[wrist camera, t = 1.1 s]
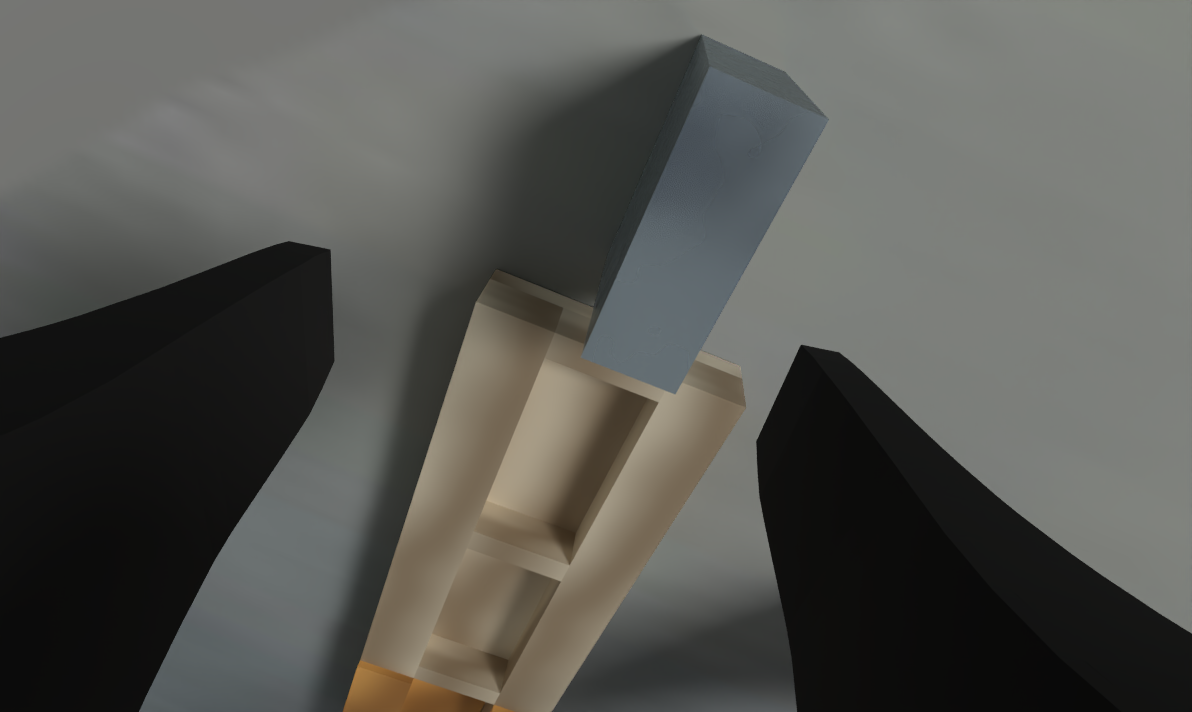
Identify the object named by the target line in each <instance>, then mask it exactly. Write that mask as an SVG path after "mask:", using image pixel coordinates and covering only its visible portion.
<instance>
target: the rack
mask: <svg viewBox="0 0 1192 712" xmlns="http://www.w3.org/2000/svg"><path fill="white" fill-rule="evenodd" d="M592 312H593V307H590V306H588V305H585V304H583V303H580V302H578V301H575V300H573V299H570V298H568V297H565V296H563V295H560V294H558V293H555V292H553V291H550V290H548V289H545V288H543V287H540V286H538V285H535V284H533V283H530V282H528V281H525V280H523V279H520V278H518V277H515V276H513V275H510V274H508V273H505V272H503V271H500V270H497V269H496V270H495V271H494V273H493V275H492V276H491V278H490V280H489V281H488V283H487V285H486V286H485V288H484V290H483V291H482V293H481V294H480V296H479V298H478V299H477V301H476V304H475V307H474V310H473V313H472V316H471V319H470V322H469V325H468V328H467V332H466V335H465V338H464V341H463V344H462V347H461V350H460V353H459V356H458V359H457V362H456V366H455V369H454V372H453V375H452V378H451V381H450V384H449V387H448V390H447V393H446V396H445V400H444V403H443V406H442V409H441V412H440V415H439V418H438V421H437V424H436V427H435V430H434V434H433V437H432V440H431V443H430V446H429V449H428V452H427V455H426V458H425V461H424V465H423V468H422V471H421V474H420V477H419V480H418V483H417V486H416V489H415V492H414V495H413V499H412V502H411V505H410V508H409V511H408V514H407V517H406V520H405V523H404V526H403V529H402V533H401V536H400V539H399V542H398V545H397V548H396V551H395V554H394V557H393V560H392V563H391V567H390V570H389V573H388V576H387V579H386V582H385V585H384V588H383V591H382V594H381V597H380V601H379V604H378V607H377V610H376V613H375V616H374V619H373V622H372V625H371V628H370V632H369V635H368V638H367V641H366V644H365V647H364V650H363V653H362V656H361V659H360V662H359V664H358V666H357V669H356V672H355V675H354V678H353V682H352V685H351V688H350V691H349V694H348V697H347V700H346V703H345V706H344V710H343V712H552V710H553V709H554V707H555V706H556V704H557V703H558V701H559V699H560V698H561V696H562V695H563V693H564V692H565V690H566V689H567V687H568V685H569V684H570V682H571V681H572V679H573V678H574V676H575V674H576V673H577V671H578V670H579V668H580V667H581V665H582V664H583V662H584V660H585V659H586V657H587V656H588V654H589V653H590V651H591V649H592V648H593V646H594V645H595V643H596V642H597V640H598V639H599V637H600V635H601V634H602V632H603V631H604V629H605V628H606V626H607V624H608V623H609V621H610V620H611V618H612V617H613V615H614V613H615V612H616V610H617V609H618V607H619V606H620V604H621V603H622V601H623V599H624V598H625V596H626V595H627V593H628V592H629V590H630V588H631V587H632V585H633V584H634V582H635V581H636V579H637V578H638V576H639V574H640V573H641V571H642V570H643V568H644V567H645V565H646V563H647V562H648V560H649V559H650V557H651V556H652V554H653V552H654V551H655V549H656V548H657V546H658V545H659V543H660V542H661V540H662V538H663V537H664V535H665V534H666V532H667V531H668V529H669V527H670V526H671V524H672V523H673V521H674V520H675V518H676V517H677V515H678V513H679V512H680V510H681V509H682V507H683V506H684V504H685V502H686V501H687V499H688V498H689V496H690V495H691V493H692V492H693V490H694V488H695V487H696V485H697V484H698V482H699V481H700V479H701V477H702V476H703V474H704V473H705V471H706V470H707V468H708V466H709V465H710V463H711V462H712V460H713V459H714V457H715V456H716V454H717V452H718V451H719V449H720V448H721V446H722V445H723V443H724V441H725V440H726V438H727V437H728V435H729V434H730V432H731V431H732V429H733V427H734V426H735V424H736V423H737V421H738V420H739V418H740V416H741V415H742V413H743V412H744V410H745V409H746V403H745V396H744V389H743V382H742V375H741V368H740V366H738V365H736V364H733V363H731V362H728V361H726V360H723V359H721V358H718V357H716V356H713V355H711V354H708V353H706V352H703V351H701V350H700V351H699V353H698V355H697V357H696V359H695V360H694V362H693V364H692V366H691V368H690V369H689V371H688V373H687V375H686V376H685V378H684V380H683V382H682V384H681V385H680V387H679V389H678V391H677V393H676V394H672V393H670V392H667V391H665V390H662V389H660V388H657V387H655V386H652V385H649V384H647V383H644V382H642V381H639V380H637V379H634V378H632V377H629V376H626V375H624V374H621V373H619V372H616V371H614V370H611V369H609V368H606V367H603V366H601V365H598V364H596V363H593V362H591V361H588V360H586V359H583V358H581V354H582V350H583V346H584V342H585V339H586V335H587V331H588V327H589V323H590V320H591V316H592Z"/></svg>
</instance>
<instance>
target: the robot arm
mask: <svg viewBox="0 0 1192 712" xmlns="http://www.w3.org/2000/svg"><path fill="white" fill-rule="evenodd" d="M333 363H334V335H333V307H332V279H331V251H330V249H325V248H320V247H315V246H310V245H305V244H300V243H295V242H290V241H288V242H284V243H280V244H277V245H273V246H270V247H267V248H265V249H262V250H259V251H256V252H253V253H251V254H248V255H245V256H243V257H240V258H238V259H235V260H232V261H230V262H227V263H225V264H222V265H219V266H217V267H214V268H212V269H209V270H206V271H204V272H201V273H199V274H196V275H193V276H191V277H188V278H186V279H183V280H180V281H178V282H175V283H172V284H170V285H167V286H165V287H162V288H159V289H156V290H153V291H151V292H148V293H145V294H142V295H139V296H136V297H133V298H130V299H127V300H124V301H121V302H118V303H115V304H112V305H109V306H107V307H104V308H101V309H98V310H95V311H92V312H89V313H86V314H83V315H80V316H77V317H74V318H70V319H67V320H64V321H60V322H57V323H54V324H50V325H47V326H43V327H40V328H36V329H33V330H29V331H25V332H21V333H17V334H14V335H10V336H6V337H2V338H0V712H139V710H140V708H141V706H142V704H143V701H144V699H145V697H146V695H147V693H148V691H149V689H150V687H151V685H152V683H153V681H154V679H155V677H156V675H157V673H158V671H159V669H160V666H161V664H162V662H163V660H164V658H165V656H166V654H167V652H168V650H169V648H170V646H171V644H172V642H173V640H174V638H175V636H176V634H177V632H178V630H179V628H180V626H181V624H182V622H183V620H184V618H185V616H186V614H187V612H188V610H189V608H190V606H191V605H192V603H193V601H194V599H195V597H196V595H197V593H198V591H199V589H200V587H201V585H202V583H203V581H204V580H205V578H206V576H207V574H208V572H209V570H210V568H211V566H212V564H213V562H214V560H215V559H216V557H217V556H218V554H219V552H220V551H221V549H222V547H223V546H224V544H225V542H226V541H227V539H228V537H229V536H230V534H231V532H232V531H233V529H234V528H235V526H236V525H237V523H238V522H239V520H240V519H241V517H242V516H243V514H244V513H245V511H246V510H247V508H248V507H249V505H250V504H251V502H252V501H253V499H254V498H255V496H256V495H257V493H258V492H259V490H260V489H261V487H262V486H263V484H264V483H265V481H266V480H267V478H268V477H269V475H270V474H271V472H272V471H273V469H274V468H275V466H276V465H277V463H278V462H279V460H280V459H281V457H282V456H283V454H284V453H285V451H286V450H287V448H288V447H289V445H290V444H291V442H292V441H293V439H294V438H295V436H296V435H297V433H298V432H299V430H300V428H301V427H302V425H303V424H304V422H305V421H306V419H307V417H308V416H309V414H310V412H311V410H312V408H313V406H314V404H315V402H316V400H317V398H318V396H319V394H320V392H321V390H322V388H323V385H324V383H325V381H326V379H327V376H328V374H329V372H330V370H331V367H332V365H333ZM756 445H757V468H758V483H759V495H760V502H761V507H762V512H763V517H764V522H765V527H766V532H767V537H768V542H769V547H770V551H771V556H772V561H773V565H774V570H775V575H776V580H777V584H778V589H779V594H780V598H781V603H782V608H783V612H784V617H785V622H786V627H787V632H788V638H789V644H790V650H791V656H792V664H793V674H794V684H795V694H796V704H797V712H1192V634H1191V633H1190V632H1188V631H1186V630H1185V629H1183V628H1182V627H1180V626H1178V625H1177V624H1175V623H1174V622H1172V621H1170V620H1169V619H1167V618H1165V617H1164V616H1162V615H1161V614H1159V613H1158V612H1156V611H1155V610H1153V609H1152V608H1150V607H1149V606H1147V605H1146V604H1144V603H1143V602H1141V601H1140V600H1138V599H1137V598H1135V597H1134V596H1132V595H1131V594H1129V593H1128V592H1126V591H1125V590H1123V589H1122V588H1120V587H1119V586H1117V585H1116V584H1114V583H1112V582H1111V581H1109V580H1108V579H1106V578H1105V577H1103V576H1102V575H1101V574H1099V573H1098V572H1096V571H1095V570H1093V569H1092V568H1091V567H1089V566H1088V565H1086V564H1085V563H1083V562H1082V561H1081V560H1079V559H1078V558H1076V557H1075V556H1074V555H1072V554H1071V553H1069V552H1068V551H1067V550H1065V549H1064V548H1063V547H1061V546H1060V545H1059V544H1058V543H1056V542H1055V541H1054V540H1052V539H1051V538H1050V537H1048V536H1047V535H1046V534H1044V533H1043V532H1042V531H1040V530H1039V529H1038V528H1036V527H1035V526H1034V525H1032V524H1031V523H1030V522H1028V521H1027V520H1026V519H1025V518H1023V517H1022V516H1021V515H1019V514H1018V513H1017V512H1016V511H1014V510H1013V509H1012V508H1011V507H1009V506H1008V505H1007V504H1006V503H1005V502H1003V501H1002V500H1001V499H1000V498H998V497H997V496H996V495H995V494H994V493H993V492H991V491H990V490H989V489H988V488H987V487H986V486H984V485H983V484H982V483H981V482H980V481H979V480H978V479H976V478H975V477H974V476H973V475H972V474H971V473H969V472H968V471H967V470H966V469H965V468H964V467H963V466H961V465H960V464H959V463H958V462H957V461H956V460H955V459H954V458H953V457H951V456H950V455H949V454H948V453H947V452H946V451H945V450H944V449H943V448H942V447H940V446H939V445H938V444H937V443H936V442H935V441H934V440H933V439H932V438H931V437H930V436H929V435H928V434H927V433H926V432H924V431H923V430H922V429H921V428H920V427H919V426H918V425H917V424H916V423H915V422H914V421H913V420H912V419H911V418H910V417H909V416H908V415H907V414H906V413H905V412H904V411H903V410H902V409H900V408H899V407H898V406H897V405H896V404H895V403H894V402H893V401H892V400H891V399H890V398H889V397H888V396H887V395H886V394H885V393H884V392H883V391H882V390H881V389H880V388H879V387H878V386H877V385H876V384H875V383H874V382H873V381H871V380H870V379H869V378H868V377H867V376H866V375H865V374H864V373H863V372H862V371H861V370H860V369H858V368H857V367H856V366H855V365H854V364H853V363H852V362H850V361H849V360H848V359H847V358H846V357H844V356H843V355H842V354H840V353H839V352H834V351H829V350H824V349H820V348H815V347H810V346H805V345H801V346H800V348H799V350H798V352H797V355H796V357H795V359H794V361H793V363H792V365H791V368H790V370H789V372H788V374H787V376H786V378H785V381H784V383H783V385H782V387H781V389H780V391H779V394H778V396H777V398H776V400H775V402H774V404H773V407H772V409H771V411H770V413H769V415H768V417H767V419H766V422H765V424H764V426H763V428H762V430H761V432H760V435H759V437H758V439H757V441H756Z"/></svg>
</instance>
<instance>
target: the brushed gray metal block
mask: <svg viewBox="0 0 1192 712" xmlns="http://www.w3.org/2000/svg"><path fill="white" fill-rule="evenodd" d="M828 120H829V119H828V118H827V117H826V116H825V115H824V114H823V112H822V111H821V110H820V109H819V108H818V107H817V106H816V105H815V104H814V103H813V102H812V101H811V99H810V98H809V97H808V96H807V95H806V94H805V93H804V92H803V91H802V90H801V89H800V87H799V86H798V85H797V84H796V83H795V82H794V81H793V80H792V79H791V78H790V77H789V76H788V74H787V73H786V72H785V71H782V70H780V69H778V68H776V67H773V66H771V65H769V64H767V63H764V62H762V61H760V60H758V59H756V58H753V57H751V56H749V55H747V54H744V53H742V52H740V51H738V50H736V49H733V48H731V47H729V46H727V45H724V44H722V43H720V42H718V41H715V40H713V39H711V38H709V37H707V36H704V35H701V38H700V40H699V42H698V45H697V47H696V49H695V52H694V54H693V56H692V59H691V61H690V63H689V66H688V68H687V70H686V73H685V75H684V77H683V80H682V82H681V84H680V87H679V89H678V91H677V94H676V96H675V98H674V101H673V103H672V105H671V108H670V110H669V112H668V115H667V117H666V120H665V122H664V124H663V127H662V129H661V131H660V134H659V136H658V138H657V141H656V143H655V145H654V148H653V150H652V152H651V155H650V157H649V159H648V162H647V164H646V166H645V169H644V171H643V173H642V176H641V178H640V180H639V183H638V185H637V187H636V190H635V192H634V194H633V197H632V199H631V201H630V204H629V206H628V208H627V211H626V213H625V215H624V218H623V220H622V222H621V225H620V227H619V229H618V232H617V234H616V236H615V239H614V241H613V243H612V246H611V248H610V250H609V253H608V255H607V258H606V262H605V266H604V270H603V274H602V277H601V281H600V285H599V289H598V293H597V297H596V300H595V304H594V308H593V312H592V316H591V320H590V323H589V327H588V331H587V335H586V339H585V342H584V346H583V350H582V354H581V358H583V359H586V360H588V361H591V362H593V363H596V364H598V365H601V366H603V367H606V368H609V369H611V370H614V371H616V372H619V373H621V374H624V375H626V376H629V377H632V378H634V379H637V380H639V381H642V382H644V383H647V384H649V385H652V386H655V387H657V388H660V389H662V390H665V391H667V392H670V393H672V394H676V393H677V391H678V389H679V387H680V385H681V384H682V382H683V380H684V378H685V376H686V375H687V373H688V371H689V369H690V368H691V366H692V364H693V362H694V360H695V359H696V357H697V355H698V353H699V351H700V350H701V348H702V346H703V344H704V342H705V341H706V339H707V337H708V335H709V333H710V332H711V330H712V328H713V326H714V325H715V323H716V321H717V319H718V317H719V316H720V314H721V312H722V310H723V308H724V307H725V305H726V303H727V301H728V299H729V298H730V296H731V294H732V292H733V290H734V289H735V287H736V285H737V283H738V282H739V280H740V278H741V276H742V274H743V273H744V271H745V269H746V267H747V265H748V264H749V262H750V260H751V258H752V256H753V255H754V253H755V251H756V249H757V247H758V246H759V244H760V242H761V240H762V239H763V237H764V235H765V233H766V231H767V230H768V228H769V226H770V224H771V222H772V221H773V219H774V217H775V215H776V213H777V212H778V210H779V208H780V206H781V204H782V203H783V201H784V199H785V197H786V196H787V194H788V192H789V190H790V188H791V187H792V185H793V183H794V181H795V179H796V178H797V176H798V174H799V172H800V170H801V169H802V167H803V165H804V163H805V161H806V160H807V158H808V156H809V154H810V153H811V151H812V149H813V147H814V145H815V144H816V142H817V140H818V138H819V136H820V135H821V133H822V131H823V129H824V127H825V126H826V124H827V122H828Z"/></svg>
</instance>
